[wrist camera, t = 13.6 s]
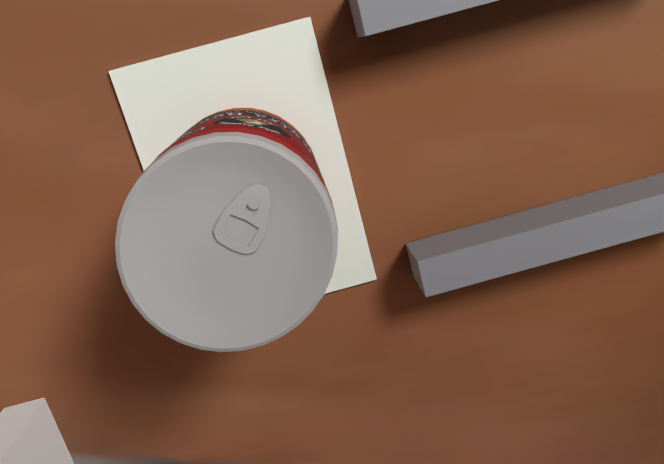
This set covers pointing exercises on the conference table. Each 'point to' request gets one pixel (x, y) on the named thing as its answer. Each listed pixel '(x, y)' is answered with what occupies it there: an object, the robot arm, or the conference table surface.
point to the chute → (325, 141)
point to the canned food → (228, 233)
